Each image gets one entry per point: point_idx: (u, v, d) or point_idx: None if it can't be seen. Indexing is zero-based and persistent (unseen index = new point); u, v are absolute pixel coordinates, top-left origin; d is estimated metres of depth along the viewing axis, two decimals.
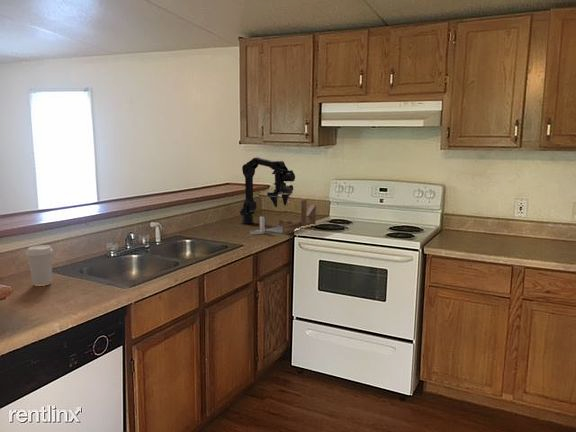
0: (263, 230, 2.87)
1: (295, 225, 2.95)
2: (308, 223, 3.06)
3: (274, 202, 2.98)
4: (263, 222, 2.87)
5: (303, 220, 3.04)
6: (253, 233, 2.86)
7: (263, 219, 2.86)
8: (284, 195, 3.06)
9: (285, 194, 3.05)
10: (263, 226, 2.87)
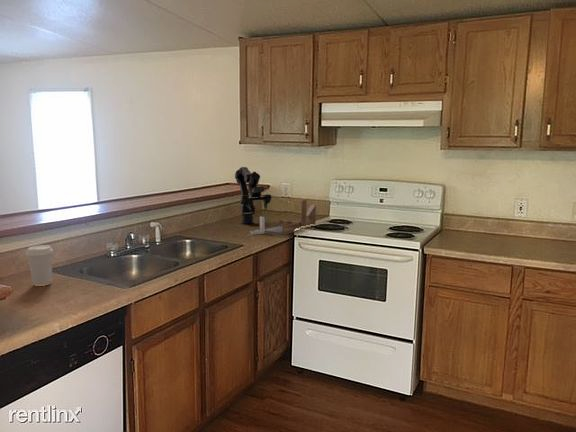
0: (263, 230, 2.87)
1: (295, 225, 2.95)
2: (308, 223, 3.06)
3: (248, 206, 2.93)
4: (263, 222, 2.87)
5: (303, 220, 3.04)
6: (253, 233, 2.86)
7: (263, 219, 2.86)
8: (264, 202, 2.99)
9: (264, 200, 2.99)
10: (263, 226, 2.87)
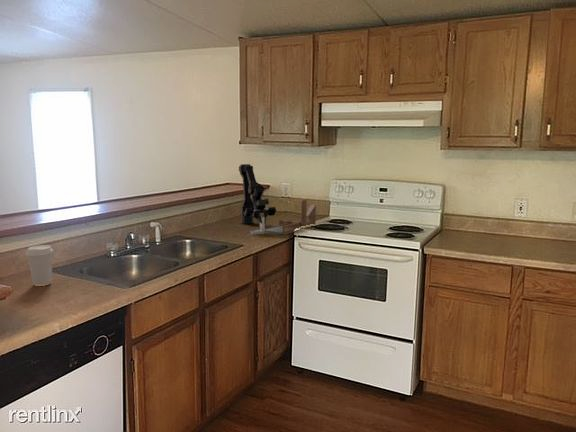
0: (263, 230, 2.87)
1: (295, 225, 2.95)
2: (308, 223, 3.06)
3: (258, 219, 2.87)
4: (263, 222, 2.87)
5: (303, 220, 3.04)
6: (253, 233, 2.86)
7: (263, 219, 2.86)
8: (263, 215, 2.91)
9: (263, 213, 2.90)
10: (263, 226, 2.87)
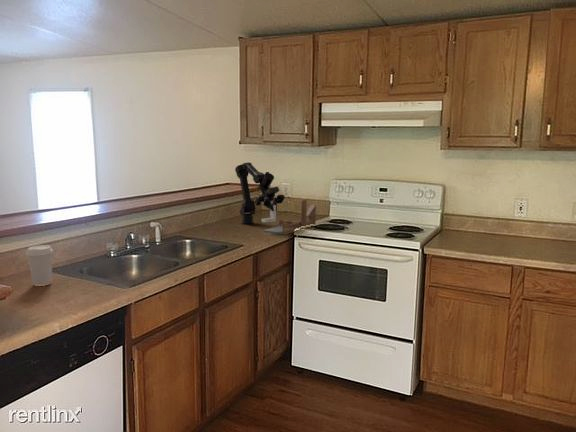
0: (274, 218, 2.91)
1: (295, 225, 2.95)
2: (308, 223, 3.06)
3: (270, 207, 2.90)
4: (275, 210, 2.90)
5: (303, 220, 3.04)
6: (266, 221, 2.88)
7: (275, 207, 2.90)
8: (273, 202, 2.94)
9: (273, 201, 2.94)
10: (275, 214, 2.90)
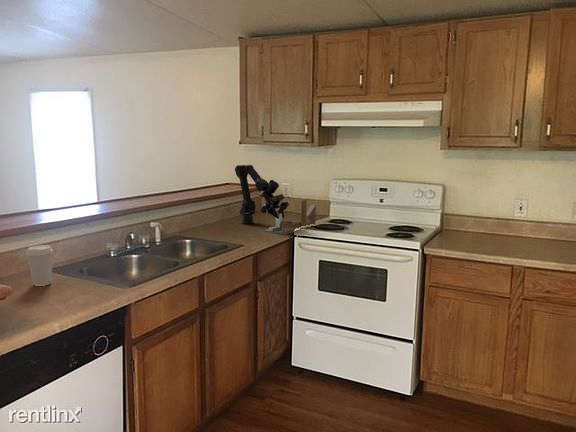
0: (281, 226, 2.95)
1: (295, 225, 2.95)
2: (308, 223, 3.06)
3: (274, 215, 2.93)
4: (281, 218, 2.94)
5: (303, 220, 3.04)
6: (273, 230, 2.91)
7: (281, 215, 2.94)
8: (279, 210, 2.98)
9: (279, 208, 2.98)
10: (281, 222, 2.95)
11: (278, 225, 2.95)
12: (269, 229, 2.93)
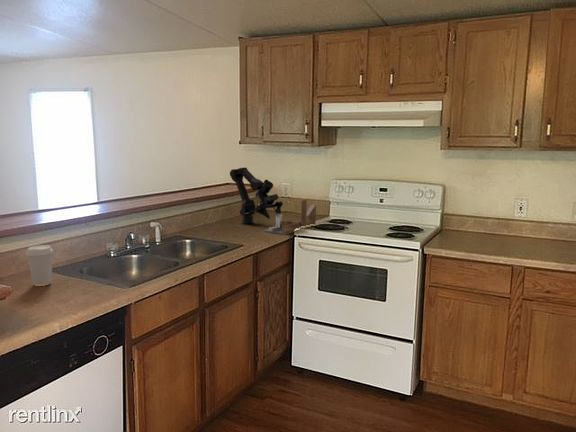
0: (281, 226, 2.95)
1: (295, 225, 2.95)
2: (308, 223, 3.06)
3: (265, 214, 2.96)
4: (281, 218, 2.94)
5: (303, 220, 3.04)
6: (273, 230, 2.91)
7: (281, 215, 2.94)
8: (276, 209, 3.04)
9: (276, 207, 3.04)
10: (281, 222, 2.95)
11: (278, 225, 2.95)
12: (269, 229, 2.93)
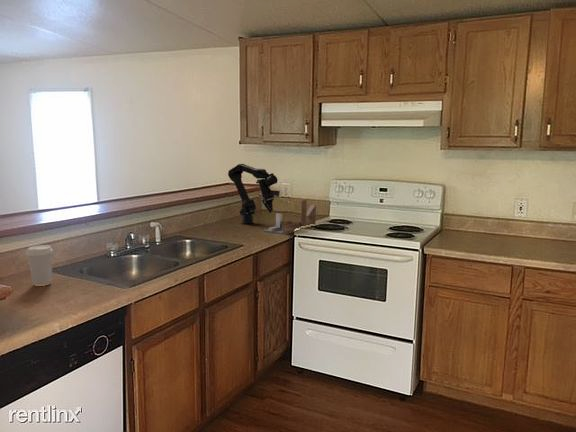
0: (281, 226, 2.95)
1: (295, 225, 2.95)
2: (308, 223, 3.06)
3: (270, 206, 3.00)
4: (281, 218, 2.94)
5: (303, 220, 3.04)
6: (273, 230, 2.91)
7: (281, 215, 2.94)
8: (267, 203, 3.11)
9: None
10: (281, 222, 2.95)
11: (278, 225, 2.95)
12: (269, 229, 2.93)
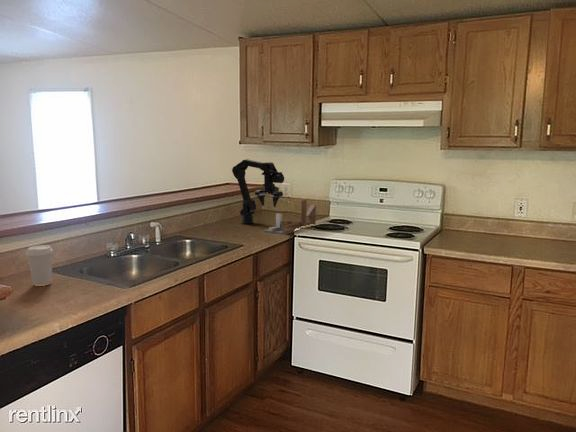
0: (281, 226, 2.95)
1: (295, 225, 2.95)
2: (308, 223, 3.06)
3: (275, 202, 3.05)
4: (281, 218, 2.94)
5: (303, 220, 3.04)
6: (273, 230, 2.91)
7: (281, 215, 2.94)
8: (262, 196, 3.11)
9: (262, 195, 3.11)
10: (281, 222, 2.95)
11: (278, 225, 2.95)
12: (269, 229, 2.93)
